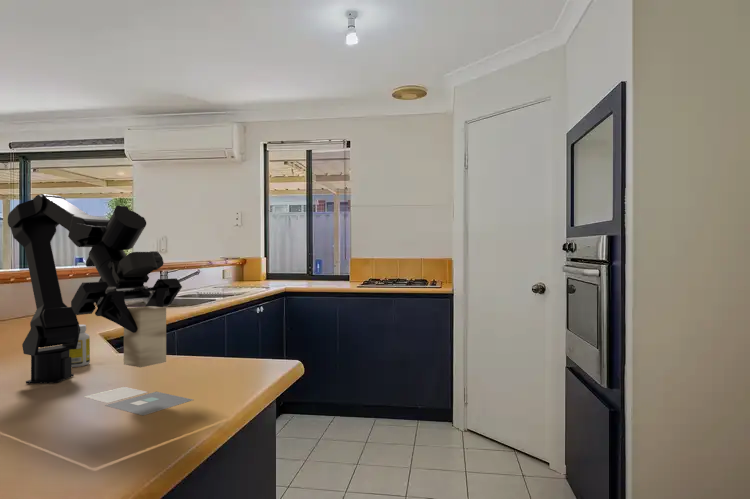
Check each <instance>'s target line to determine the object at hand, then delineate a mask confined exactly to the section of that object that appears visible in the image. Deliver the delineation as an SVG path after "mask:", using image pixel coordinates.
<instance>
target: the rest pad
mask: <svg viewBox="0 0 750 499" xmlns="http://www.w3.org/2000/svg"><path fill="white" fill-rule="evenodd" d="M145 394H149V391H145V390H141V389H136V388H131V387H127V386H121V387H117V388H114V389H110V390H105V391H101V392H97V393H93V394H88V395H85V396H83V398H85V399H90V400H94V401H97V402H102V403H105V404H111V403H115V402H119V401H122V400H126V399H130V398H134V397H137V396H141V395H145Z"/></svg>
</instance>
